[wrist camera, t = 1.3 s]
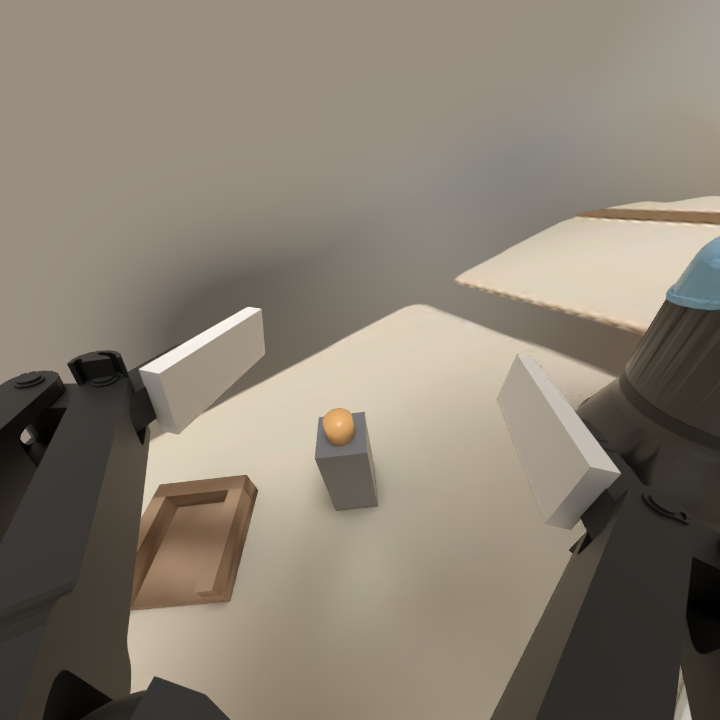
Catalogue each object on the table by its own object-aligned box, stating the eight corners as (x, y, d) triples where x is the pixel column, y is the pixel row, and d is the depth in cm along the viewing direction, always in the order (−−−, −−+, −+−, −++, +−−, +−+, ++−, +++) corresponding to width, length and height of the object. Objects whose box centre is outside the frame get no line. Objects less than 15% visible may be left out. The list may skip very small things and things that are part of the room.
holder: (229, 600, 24) (211, 590, 22) (123, 610, 25) (95, 601, 23) (257, 490, 32) (246, 474, 30) (176, 499, 33) (159, 484, 31)
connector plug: (377, 506, 29) (364, 438, 22) (336, 510, 29) (309, 444, 22) (374, 467, 33) (361, 397, 25) (337, 471, 33) (314, 403, 26)
